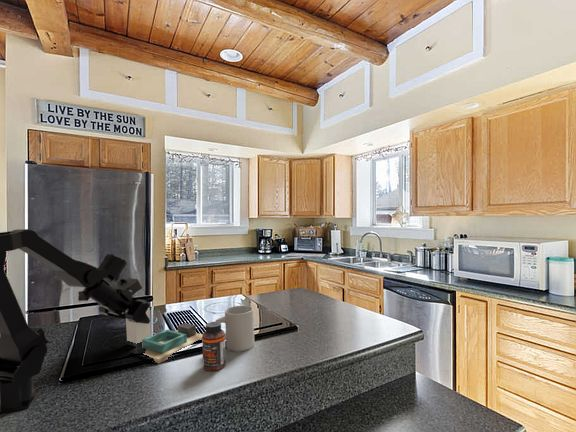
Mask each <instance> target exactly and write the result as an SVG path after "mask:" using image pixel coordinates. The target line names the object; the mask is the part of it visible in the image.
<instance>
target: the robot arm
mask: <svg viewBox="0 0 576 432" xmlns="http://www.w3.org/2000/svg"><path fill="white" fill-rule="evenodd" d="M15 250H20V251H22V252H24V253H25V254H27V255H28V256H30V257H32V258H34V259H36V260H37V261H38V262H40V263H42V264H44V265H45V266H47V267H48V268H49V269H52V270H53V271H55V272H56V273H57V275H58V277H59V278H60V280H61V281H63V282H64V283H65V285H66V286H68V287H71V288H84V289H83V290H80V291H77V293H78V299H77V300H78V302H87V301H89V299H91V300H93V302H95V303H97V306H99V307H98V310H99V311H98V312H99V313H101V314H102V315H105V316H109V317H112V318H115V319H121V320H123V319H124V320H126V319H128V320H129V321H131V322H135V323H145V324H149V322H150V323H151V318H150V319H149V318H148V316H147V314H146V311H147V310H148V308H149V307H151V303H150V302H149V301H147V300H145V299H135V300H134V302H132V300H133V299H134V297H133V295H135V294H136V293H137V292H139V291H141V290H142V289H143V286H142V284H141V283H140V282H141V281H139V279H138V278H127V279H125V278H120V276H121V275H122V274H123V272H124V270H125V269H126V267H127V266H128V263H127V261H126V260H125V259H122V258H121V257H118V256H116V255H114V254H113V253H107V254H106V255H105V256H104V258H103V260H102V262H101V263H100V264H99V266H98V267H96V266H93V265H92V264H89V263H87V262H84V261H81V260H77V259H74V258H73V257H71V256H69V255H68V254H66V253H65V252H63V251H62V250H61V249H60V248H57V247H56V246H55V245H53V244H52V243H50V242H48V241H47V240H46V239H44V238H43V237H42V236H40V235H39V234H38V233H37V232H36V231H35V230H32V229H30V228H27V229H25V228H24V229H23V228H22V229H21V228H20V229H18V228H17V229H14V230H10V231H1V232H0V414H4V413H7V412H13V411H19V410H24V409H28V408H29V407H31V406H32V404H33V403H34V401H35V400H36V399H37V398H38V396H39V395H40V393H41V390H40V389H39V390H34V376H37V375H39V374H41V370H42V366H43V363H44V360H45V357H46V355H47V354H48V351H49V350H48V345H47V344H50V341H48V340H47V338H46V335H45V331H44V330H43V327H42V328H41V327H35V326H34V327H33V326H29V324H28V322H27V320H26V317H25V314H24V313H23V310H22V308H21V306H20V304H19V300H18V299H17V297H16V294H15V291H14V289H13V288H12V286H11V282H10V281H9V278H8V276H7V274H6V271H5V264H6V259H7V252H10V251H15ZM119 278H120V279H119ZM113 282H117V288H116V287H114V286H113V285H111V283H113ZM126 310H127V313H126Z"/></svg>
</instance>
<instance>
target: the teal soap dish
mask: <svg viewBox="0 0 576 432" xmlns="http://www.w3.org/2000/svg"><path fill="white" fill-rule="evenodd" d="M196 329H197V328H196V325H195V324H192V323H191V324H190V323H186V322H184V323H182V324H180V325H177V329H176V330H171V329H165V330H163V331H160V332H158V333H155V334H153V335H151V336H150V337H148V338H145V339H143V340H142V348H145V349H146V351H145V353H143V354H144V355H147V356H149V357H151V358H153V359H154V361H155V362H154V363H157V364H161V363H163V362H165V361H167V360H169V359H168V357H169V356H170V355H172V354H173V353H174V352H177V351H179V350H181V349H182V348H185V347H187V346H189V345H191V344H193V343H194V342H196V341H198V340H200V339H202V335H203V333H198V332H197V330H196Z"/></svg>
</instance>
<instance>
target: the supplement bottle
mask: <svg viewBox="0 0 576 432" xmlns="http://www.w3.org/2000/svg"><path fill="white" fill-rule="evenodd" d="M225 333H226V331H224V330H223V329H222V323H220V322H215V321H210V322H207V323H206V324H205V331H204V332H203V333H202V334H203V335H202V342H201V344H202V345H201V347H202V365H203V368H204V369H205V370H207V371H210V372H212V371H218V370H220V369H223V368H224V367H225V366H226V364H227V363H226V362H227V361H226V360H227V358H226V340H225Z"/></svg>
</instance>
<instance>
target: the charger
mask: <svg viewBox="0 0 576 432" xmlns="http://www.w3.org/2000/svg"><path fill="white" fill-rule="evenodd" d="M150 307H151V306H150ZM150 307H149V308H148V310H147V311H146V314H147V316H148V318H149V319H150V320H151V314H150V313H151V309H150ZM126 313H127V310H126ZM125 324H126V326H125V327H126V342H127V341H130V342H133V343H136V344H137V343H140V342H142V340H143V339H145V338H148V337H150V336H152V331H151V330H152V329H151V328H152V327H151V321H150V322H149V324H145V323H135V322H131V321H129V320H128V319H125Z"/></svg>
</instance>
